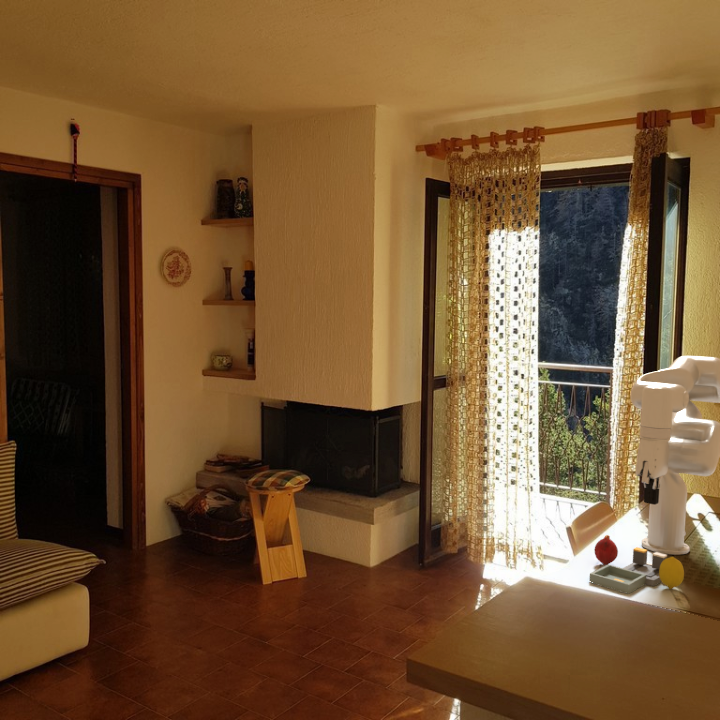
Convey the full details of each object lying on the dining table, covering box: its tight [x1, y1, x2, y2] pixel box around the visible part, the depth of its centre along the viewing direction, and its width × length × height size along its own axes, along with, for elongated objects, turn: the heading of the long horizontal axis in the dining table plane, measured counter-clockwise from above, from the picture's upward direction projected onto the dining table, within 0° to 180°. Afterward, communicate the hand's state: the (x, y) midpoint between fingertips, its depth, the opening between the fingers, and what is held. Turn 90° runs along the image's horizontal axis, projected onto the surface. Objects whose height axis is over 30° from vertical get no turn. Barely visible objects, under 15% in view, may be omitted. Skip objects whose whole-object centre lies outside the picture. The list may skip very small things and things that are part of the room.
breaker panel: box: [622, 562, 662, 587], centre depth 188 cm, size 11×9×2 cm
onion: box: [594, 534, 619, 566], centre depth 195 cm, size 6×6×8 cm
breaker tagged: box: [632, 546, 648, 565], centre depth 192 cm, size 2×3×4 cm
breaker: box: [651, 552, 668, 569], centre depth 188 cm, size 2×3×4 cm
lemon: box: [659, 556, 685, 590], centre depth 180 cm, size 6×6×8 cm
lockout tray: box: [588, 563, 646, 595], centre depth 183 cm, size 10×10×2 cm
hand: (651, 503), depth 194 cm, fingers closed
